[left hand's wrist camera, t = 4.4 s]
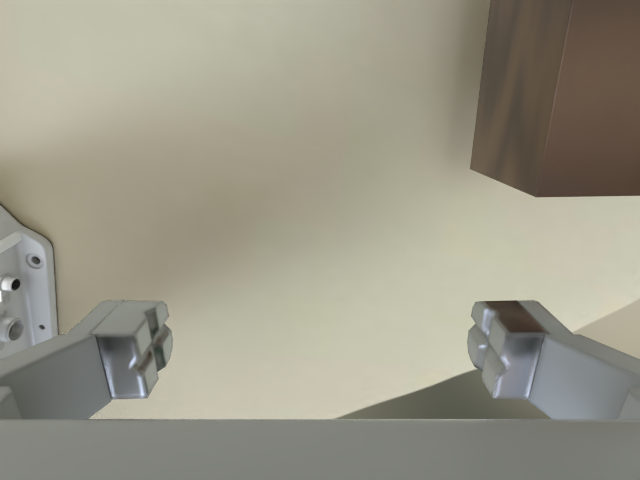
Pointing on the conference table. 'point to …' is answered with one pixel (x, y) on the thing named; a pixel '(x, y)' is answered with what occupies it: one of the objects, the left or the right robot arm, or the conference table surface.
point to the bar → (561, 98)
